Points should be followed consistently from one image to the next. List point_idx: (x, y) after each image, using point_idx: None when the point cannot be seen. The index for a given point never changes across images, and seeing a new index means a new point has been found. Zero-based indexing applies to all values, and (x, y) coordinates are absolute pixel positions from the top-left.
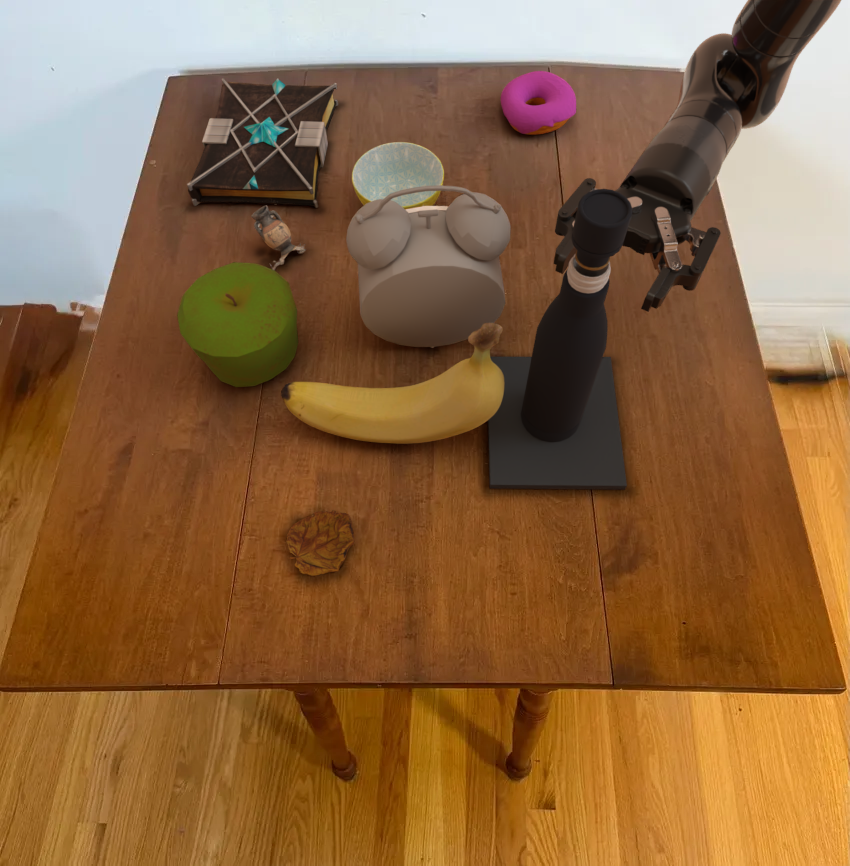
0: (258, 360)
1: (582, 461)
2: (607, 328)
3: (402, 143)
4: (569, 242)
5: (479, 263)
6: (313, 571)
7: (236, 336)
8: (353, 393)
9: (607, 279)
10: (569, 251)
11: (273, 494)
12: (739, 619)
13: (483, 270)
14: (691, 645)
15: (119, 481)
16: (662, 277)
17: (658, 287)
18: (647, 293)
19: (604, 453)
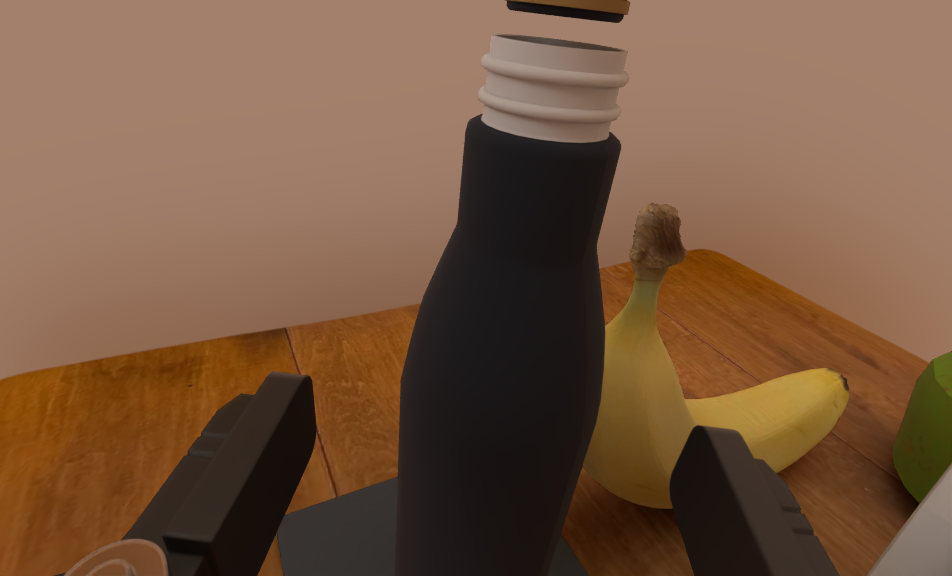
0: (919, 393)
1: (368, 532)
2: (416, 353)
3: None
4: (774, 508)
5: (947, 568)
6: (608, 323)
7: None
8: (770, 413)
9: (480, 89)
10: (722, 457)
11: (712, 368)
12: (100, 408)
13: (906, 560)
14: (184, 369)
15: (831, 340)
16: (224, 465)
17: (251, 409)
18: (304, 376)
19: (326, 567)
